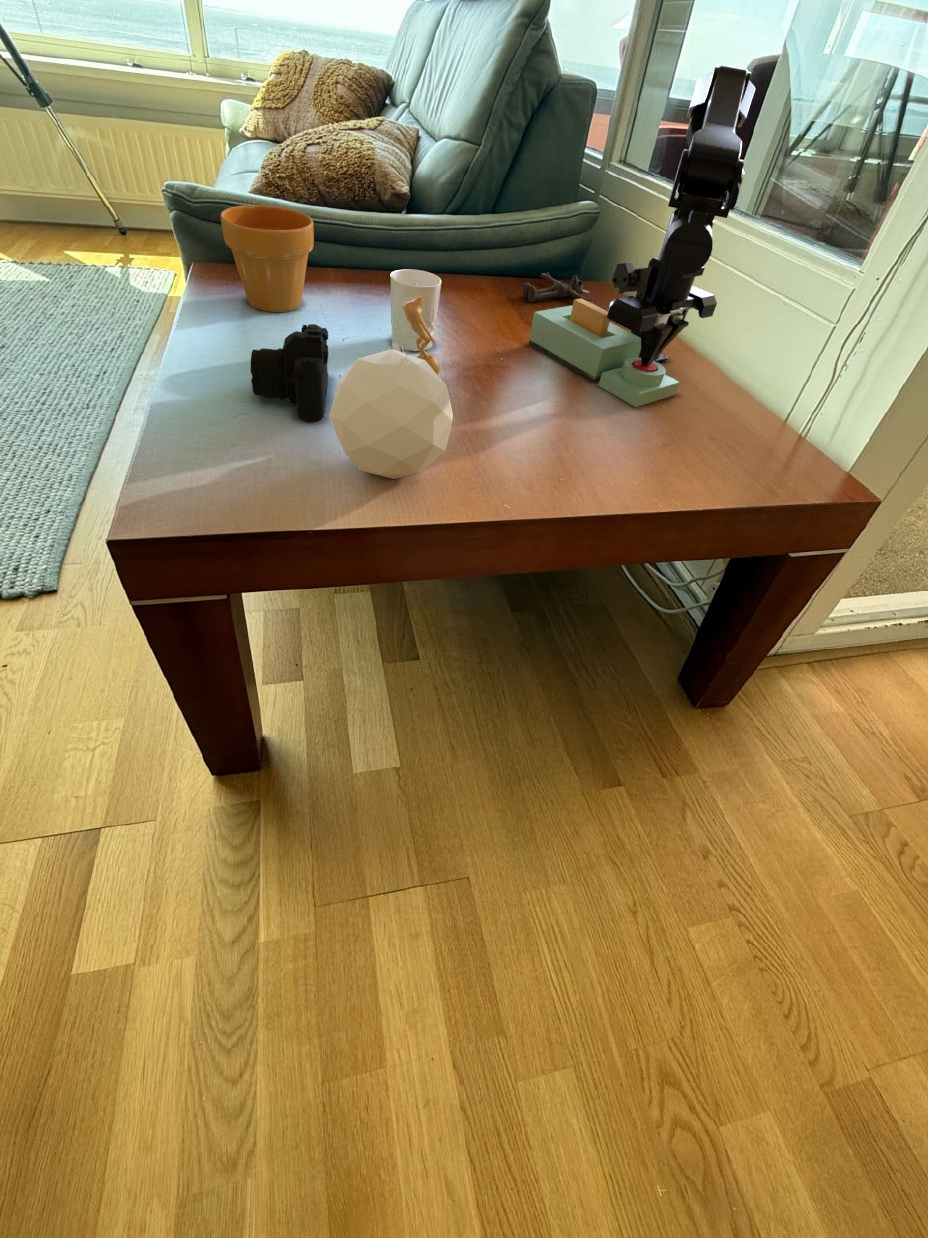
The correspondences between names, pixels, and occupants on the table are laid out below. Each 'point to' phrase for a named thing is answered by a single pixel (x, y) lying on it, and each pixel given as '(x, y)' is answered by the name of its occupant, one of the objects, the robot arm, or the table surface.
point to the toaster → (581, 343)
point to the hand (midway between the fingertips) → (645, 364)
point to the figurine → (421, 331)
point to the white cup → (408, 289)
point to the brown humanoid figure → (555, 289)
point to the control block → (638, 383)
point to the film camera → (295, 372)
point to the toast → (590, 317)
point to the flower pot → (269, 253)
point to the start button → (641, 367)
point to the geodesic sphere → (392, 414)
